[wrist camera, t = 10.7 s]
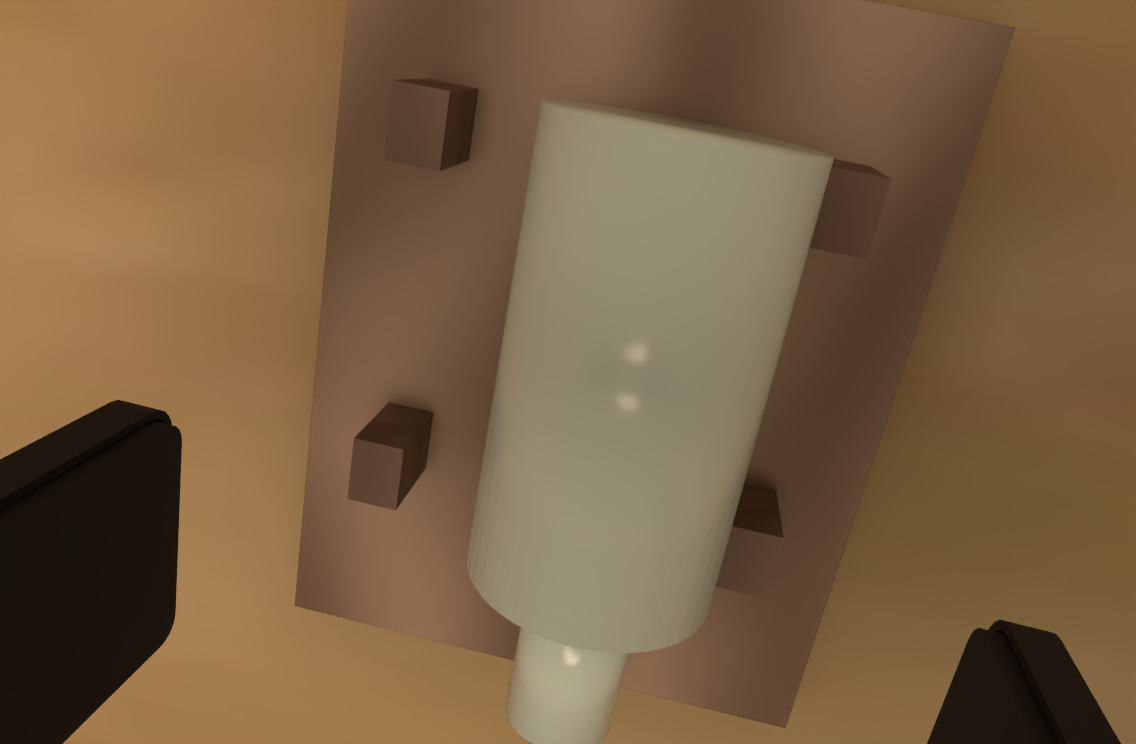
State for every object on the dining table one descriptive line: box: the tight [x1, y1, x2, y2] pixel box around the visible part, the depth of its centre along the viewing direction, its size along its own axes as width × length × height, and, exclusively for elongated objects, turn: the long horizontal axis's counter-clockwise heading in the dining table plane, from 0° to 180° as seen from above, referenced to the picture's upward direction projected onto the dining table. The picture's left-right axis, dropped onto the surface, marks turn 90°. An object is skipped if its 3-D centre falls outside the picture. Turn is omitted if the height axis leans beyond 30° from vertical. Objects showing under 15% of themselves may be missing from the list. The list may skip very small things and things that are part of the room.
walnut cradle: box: [295, 0, 1015, 728], centre depth 21 cm, size 14×18×3 cm
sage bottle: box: [467, 99, 834, 744], centre depth 20 cm, size 14×6×6 cm, turn 170°
